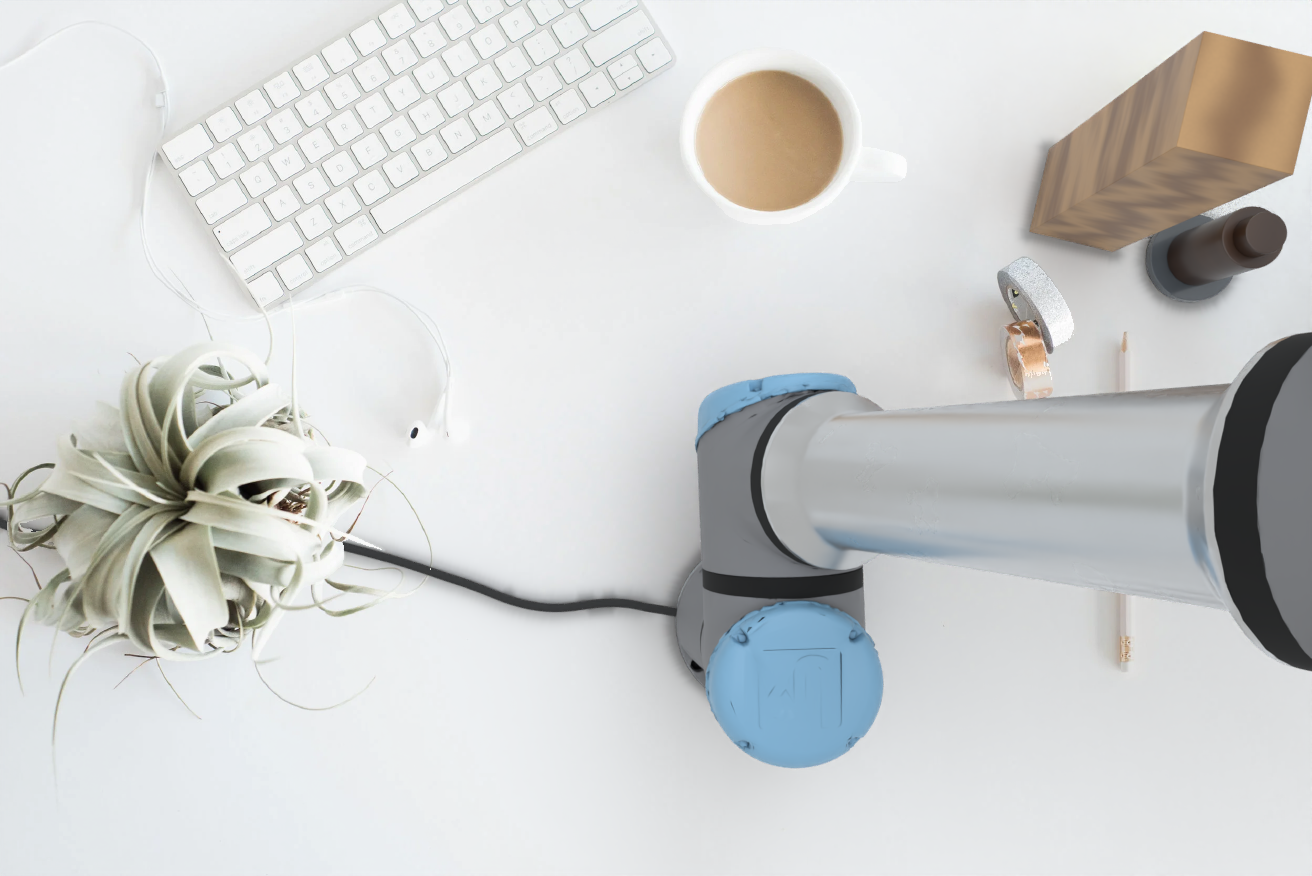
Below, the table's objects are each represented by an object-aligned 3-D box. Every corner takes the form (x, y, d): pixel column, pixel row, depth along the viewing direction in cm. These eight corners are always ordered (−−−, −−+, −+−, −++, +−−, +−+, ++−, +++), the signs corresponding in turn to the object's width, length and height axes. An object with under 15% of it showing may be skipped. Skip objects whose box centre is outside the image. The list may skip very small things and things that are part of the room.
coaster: (1136, 291, 77) (1141, 289, 76) (1156, 207, 77) (1161, 205, 77) (1220, 311, 77) (1226, 310, 76) (1240, 228, 77) (1246, 225, 76)
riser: (1028, 231, 77) (1176, 146, 55) (1049, 148, 77) (1204, 30, 55) (1112, 252, 77) (1293, 174, 55) (1132, 168, 77) (1321, 58, 55)
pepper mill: (1160, 278, 76) (1228, 256, 67) (1174, 223, 77) (1242, 194, 68) (1216, 291, 76) (1290, 271, 67) (1229, 237, 76) (1305, 209, 68)
